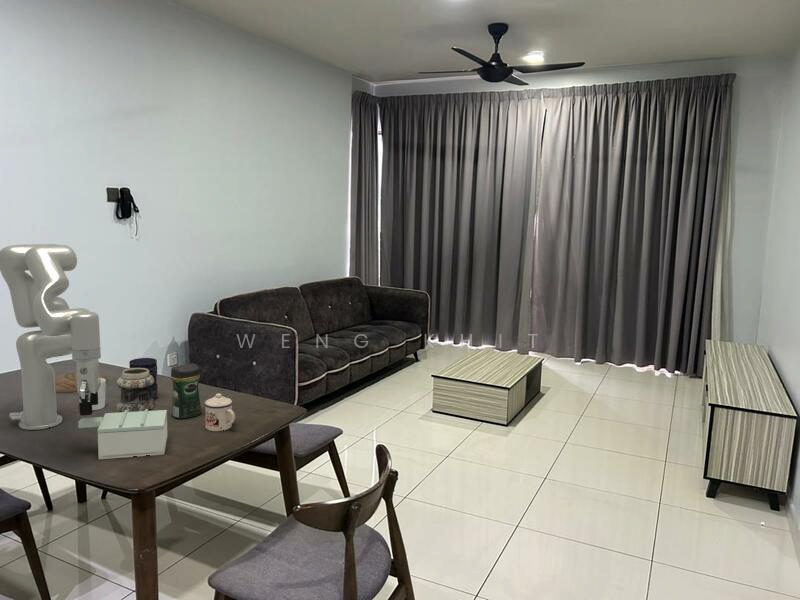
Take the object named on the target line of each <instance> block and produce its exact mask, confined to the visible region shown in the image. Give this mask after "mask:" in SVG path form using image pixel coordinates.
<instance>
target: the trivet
mask: <svg viewBox="0 0 800 600" xmlns="http://www.w3.org/2000/svg"><path fill="white" fill-rule="evenodd" d="M100 378H103V379H105V380H106V384H108V376H106V375H105V374H103V373H100ZM55 385H56V393H69V394H74V393H73V392H78V391H77V375H76V371H75V372H65V373H59V374H55Z"/></svg>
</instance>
